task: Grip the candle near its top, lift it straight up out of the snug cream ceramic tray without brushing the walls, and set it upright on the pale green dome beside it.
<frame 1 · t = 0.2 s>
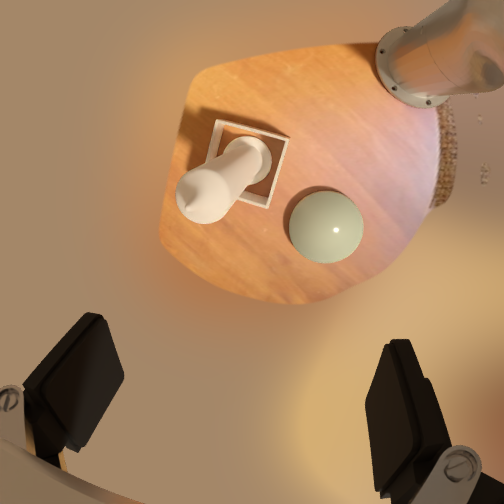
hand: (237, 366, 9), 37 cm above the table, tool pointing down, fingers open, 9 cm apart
pale green dome: (326, 226, 45), on the table
candle: (247, 159, 43), resting in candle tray
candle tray: (247, 160, 43), on the table
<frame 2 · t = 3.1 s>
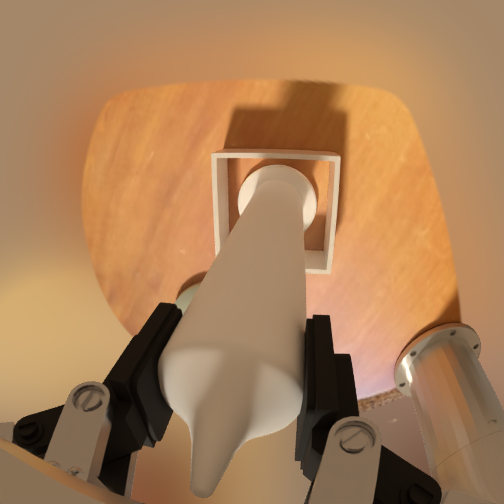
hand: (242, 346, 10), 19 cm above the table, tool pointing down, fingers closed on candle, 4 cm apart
pale green dome: (220, 322, 34), on the table
candle: (277, 202, 28), resting in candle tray, touching gripper
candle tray: (277, 202, 28), on the table
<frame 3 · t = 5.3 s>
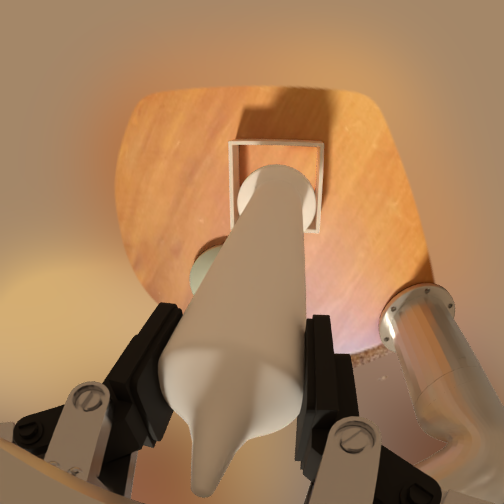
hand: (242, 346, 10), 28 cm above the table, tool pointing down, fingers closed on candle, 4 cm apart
pale green dome: (231, 281, 42), on the table
candle: (277, 202, 28), point 8 cm above the table, touching gripper
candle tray: (277, 180, 36), on the table
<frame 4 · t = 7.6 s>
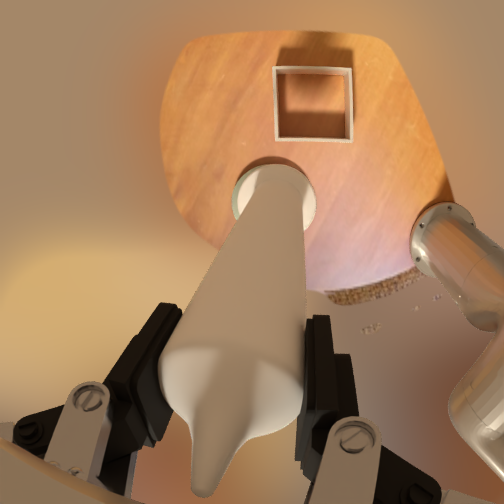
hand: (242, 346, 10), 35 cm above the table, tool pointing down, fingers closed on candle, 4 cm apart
pale green dome: (271, 201, 44), on the table
candle: (277, 201, 28), point 16 cm above the table, touching gripper
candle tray: (311, 105, 38), on the table
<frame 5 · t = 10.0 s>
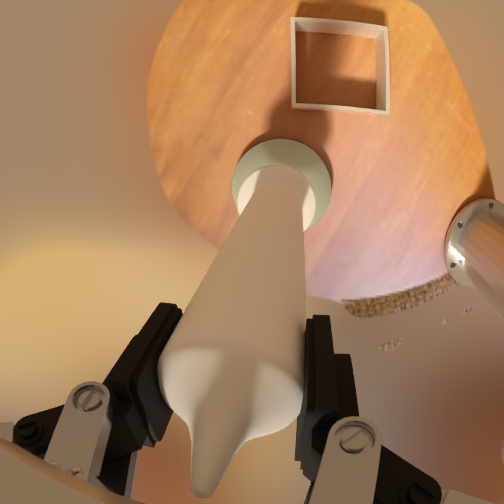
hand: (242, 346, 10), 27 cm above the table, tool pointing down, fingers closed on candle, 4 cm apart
pale green dome: (281, 186, 35), on the table
candle: (277, 201, 28), point 7 cm above the table, touching gripper
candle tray: (336, 69, 28), on the table
when the fingers open (22 cm above the table, at t = 12.0 s): candle drops 1 cm, resting on pale green dome.
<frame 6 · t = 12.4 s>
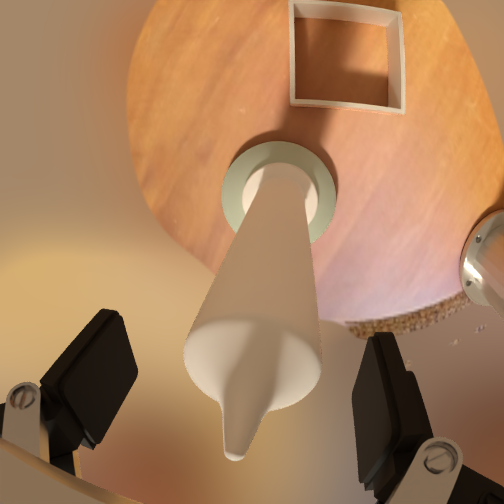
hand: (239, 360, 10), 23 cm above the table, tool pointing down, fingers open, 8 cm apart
pale green dome: (278, 196, 30), on the table
candle: (280, 198, 29), point 1 cm above the table, touching pale green dome
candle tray: (342, 61, 24), on the table
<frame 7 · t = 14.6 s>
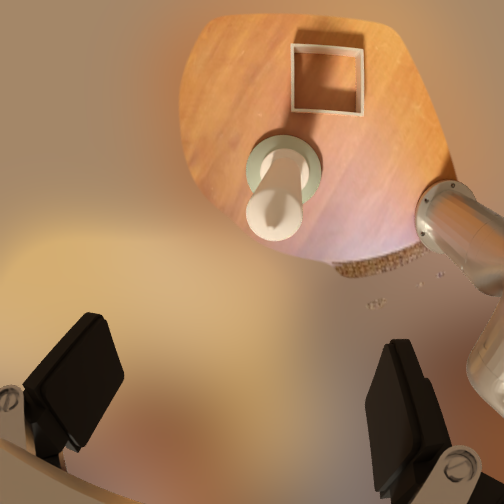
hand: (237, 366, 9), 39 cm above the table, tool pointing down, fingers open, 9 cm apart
pale green dome: (283, 171, 45), on the table
candle: (284, 171, 44), point 1 cm above the table, touching pale green dome
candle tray: (325, 82, 39), on the table
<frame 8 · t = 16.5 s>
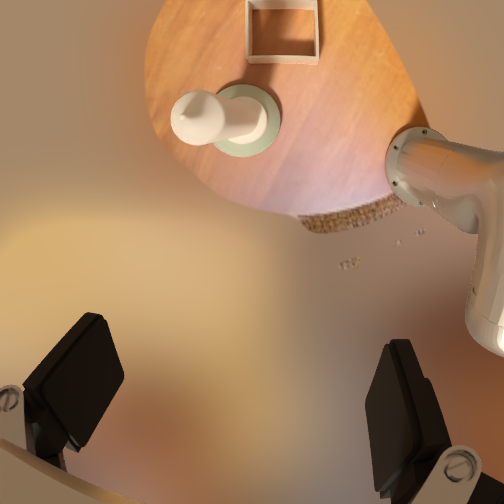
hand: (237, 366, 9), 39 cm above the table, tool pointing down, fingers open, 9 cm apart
pale green dome: (243, 120, 43), on the table
candle: (243, 120, 42), point 1 cm above the table, touching pale green dome
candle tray: (282, 34, 37), on the table
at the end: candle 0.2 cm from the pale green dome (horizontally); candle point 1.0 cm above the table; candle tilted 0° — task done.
